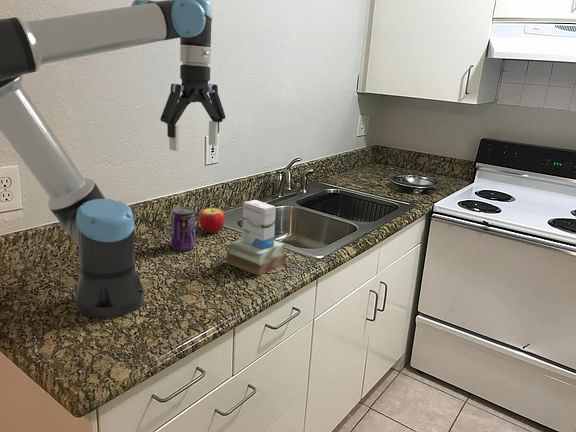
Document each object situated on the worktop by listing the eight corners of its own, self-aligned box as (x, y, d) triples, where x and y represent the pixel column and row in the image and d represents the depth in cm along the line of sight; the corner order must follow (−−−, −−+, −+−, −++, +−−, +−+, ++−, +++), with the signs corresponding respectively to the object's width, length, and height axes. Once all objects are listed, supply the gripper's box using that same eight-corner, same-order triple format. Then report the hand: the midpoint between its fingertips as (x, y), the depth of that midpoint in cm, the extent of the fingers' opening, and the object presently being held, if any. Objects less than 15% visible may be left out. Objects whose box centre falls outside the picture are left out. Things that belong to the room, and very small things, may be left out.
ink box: (274, 245, 137) (277, 205, 133) (262, 250, 133) (264, 209, 129) (253, 237, 142) (255, 198, 138) (241, 241, 138) (242, 201, 134)
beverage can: (189, 253, 142) (189, 215, 139) (167, 250, 144) (166, 212, 140) (198, 245, 149) (199, 208, 145) (177, 242, 150) (176, 205, 146)
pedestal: (259, 275, 131) (260, 255, 129) (226, 263, 138) (227, 243, 136) (285, 262, 140) (286, 243, 139) (254, 251, 147) (254, 232, 145)
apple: (220, 226, 166) (221, 198, 163) (227, 235, 159) (227, 206, 156) (196, 228, 163) (196, 199, 160) (202, 236, 156) (202, 207, 152)
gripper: (165, 63, 111) (165, 155, 117) (240, 67, 130) (236, 145, 136) (144, 61, 115) (146, 149, 122) (220, 65, 134) (218, 141, 141)
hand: (194, 147), depth 129 cm, fingers open, 13 cm apart
